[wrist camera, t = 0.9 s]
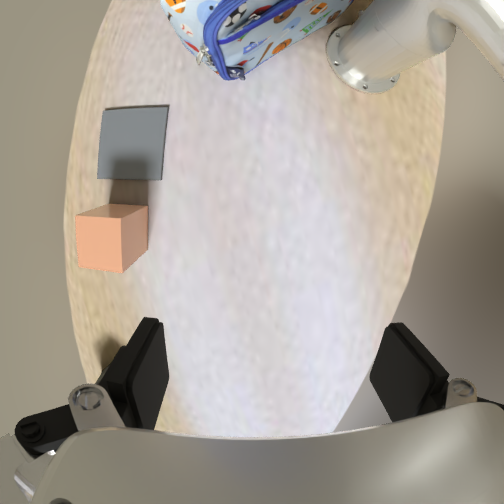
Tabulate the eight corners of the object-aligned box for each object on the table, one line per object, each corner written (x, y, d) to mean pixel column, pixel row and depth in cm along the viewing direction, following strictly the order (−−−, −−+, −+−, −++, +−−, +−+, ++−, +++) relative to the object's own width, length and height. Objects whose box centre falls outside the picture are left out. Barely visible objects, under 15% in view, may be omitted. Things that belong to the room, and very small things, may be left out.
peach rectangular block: (108, 203, 40) (75, 215, 30) (148, 205, 40) (120, 218, 31) (109, 245, 42) (78, 266, 32) (147, 249, 42) (122, 273, 33)
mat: (104, 111, 35) (103, 110, 35) (168, 107, 36) (167, 107, 35) (99, 178, 39) (97, 178, 38) (161, 180, 39) (160, 180, 38)
